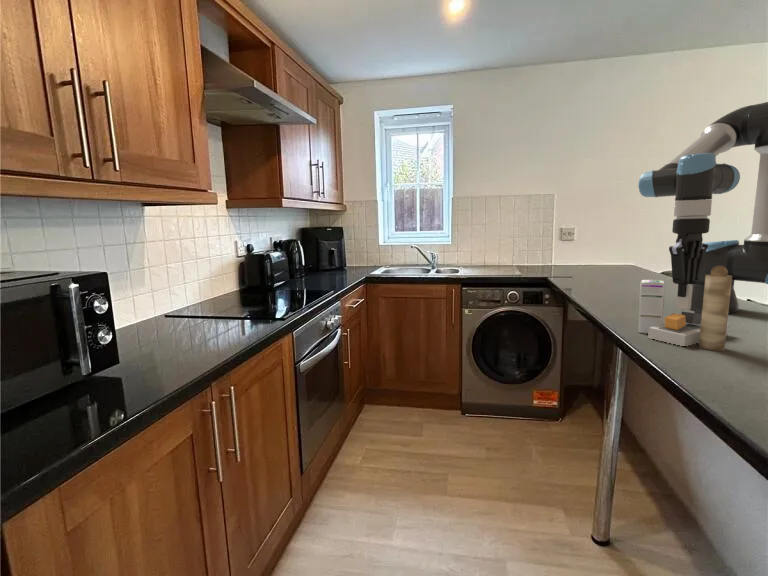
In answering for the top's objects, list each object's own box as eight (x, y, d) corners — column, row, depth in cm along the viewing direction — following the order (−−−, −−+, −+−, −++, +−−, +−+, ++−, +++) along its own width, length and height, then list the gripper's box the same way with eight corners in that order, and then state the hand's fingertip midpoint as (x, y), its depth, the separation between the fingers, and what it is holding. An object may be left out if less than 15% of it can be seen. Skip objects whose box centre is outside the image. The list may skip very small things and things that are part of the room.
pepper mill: (705, 343, 106) (713, 264, 102) (728, 348, 101) (737, 265, 98) (694, 346, 103) (702, 265, 100) (717, 352, 99) (726, 267, 96)
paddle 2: (700, 319, 116) (702, 309, 115) (712, 321, 113) (714, 311, 113) (692, 318, 114) (695, 308, 114) (705, 320, 111) (707, 310, 111)
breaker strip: (691, 328, 120) (692, 317, 119) (727, 335, 112) (729, 323, 111) (647, 338, 111) (648, 326, 111) (683, 347, 103) (685, 334, 103)
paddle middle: (687, 322, 113) (689, 312, 113) (699, 324, 110) (701, 314, 110) (679, 321, 111) (682, 311, 111) (692, 323, 109) (694, 313, 109)
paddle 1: (673, 323, 110) (673, 313, 110) (685, 325, 108) (685, 315, 107) (665, 327, 109) (664, 317, 108) (677, 330, 106) (676, 320, 106)
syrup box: (662, 335, 114) (666, 283, 111) (636, 332, 117) (640, 281, 115) (661, 330, 119) (665, 280, 116) (637, 327, 122) (640, 279, 119)
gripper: (690, 217, 111) (682, 303, 115) (660, 218, 105) (653, 309, 109) (722, 216, 104) (713, 308, 108) (692, 218, 99) (684, 314, 103)
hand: (683, 308), depth 109 cm, fingers closed
